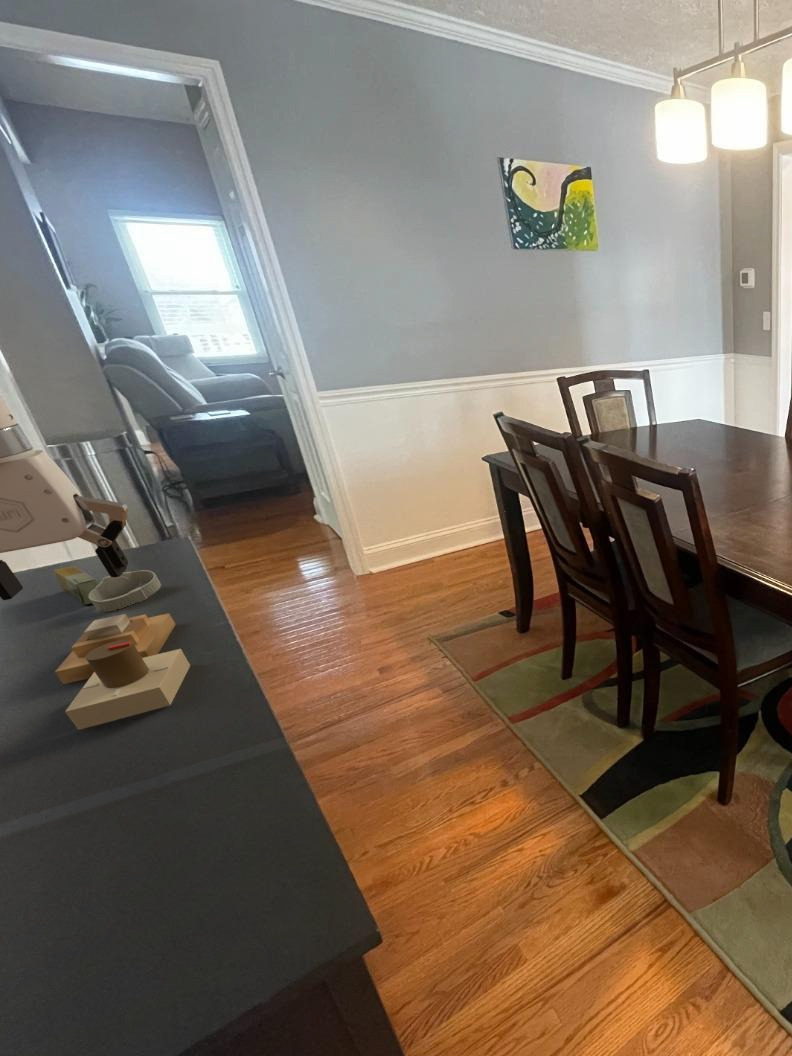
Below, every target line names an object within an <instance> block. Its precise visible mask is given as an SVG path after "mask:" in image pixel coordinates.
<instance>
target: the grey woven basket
mask: <svg viewBox="0 0 792 1056" xmlns="http://www.w3.org/2000/svg"><path fill="white" fill-rule="evenodd" d="M143 584H144V585H143ZM140 585H142V586H140ZM161 587H162V584H161V582H160V579H159V578H158V577H157V575H156V573H155V572H154V571H152V570H148V569H141V570H135V571H126V572H125V571H124V572H123V573H122V575H121V576H120V577H115V578H114V577H111V576H110V575H108V576H104V577H102V578H101V580H100V582H98V585H97V586H96V587H95V588H96V589H93V590H92V591H91V592H90V593H89V596H88V597H89V599H90V600H91V602H92V603H93V604H92V605H93V607H94V608H95V610H97V611H98V612H103V613H108V612H114V611H115V612H116V611H118V610H117V609H119V610H123V609H125V608H124V607H126V608H128V607H127V606H129V607H131V606H133V605H132V604H134V605H136V604H137V603H136V602H140V603H142V602H144V601H143V600H145V601H147V600H148V599H147V598H149V597H151V596H152V595H154V594H156V593H157V592H158V591H159V590H160V589H161ZM146 599H147V600H146ZM141 601H142V602H141ZM135 603H136V604H135ZM130 605H131V606H130ZM122 608H123V609H122Z"/></svg>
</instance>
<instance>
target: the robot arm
mask: <svg viewBox="0 0 792 1056" xmlns="http://www.w3.org/2000/svg"><path fill="white" fill-rule="evenodd" d="M128 506H129V505H127V504H126V503H123V502H118V501H111V500H106V499H105V500H104V499H100V498H95V497H87V496H82V494H81V493H80V491H79V490H78V489H77V487H76V486H75V484H73V482H72V481H71V480H70V478H69V477H68V476H67V474H66V473H65V472H64V471H63V470H62V469H61V468H60V466H59V465H57V464H56V462H55V461H54V460H53V459H52V458H51V457H50V456H49V455H48V454H47V453H46V452H45V451H44V450H42V449H38V450H36V449H35V448H34V447H33V445H32V443H31V442H30V440H29V439H28V437H27V435H26V434H25V432H24V430H23V428H22V427H21V425H20V424H19V423H18V421H17V419H16V417H15V416H14V414H13V413H12V412H11V410H10V408H9V406H8V405H7V402H5V400H4V398H3V396H2V395H1V394H0V554H3V553H9V552H14V551H19V550H25V549H31V548H36V547H41V546H42V547H43V546H47V545H53V544H57V543H63V542H67V541H72V540H75V539H76V538H79V539H82V540H83V541H86V542H88V543H91V544H93V545H96V546H97V548H96V549H95V550H94V552H95V555H97V557H98V559H99V560H100V562H101V564H102V565H103V566H104V568H105V570H106V572H107V573H108V576H111V577H114V578H115V577H120V576H121V575H122V573H125V571H127V568H128V565H129V560H128V558H127V557H126V554H124V551H123V550H122V548H121V547H120V545H119V543H118V542H117V539H118V538H119V536H120V535H121V533H122V531H123V530H124V528H125V527H126V525H127V522H126V521H127V516H128V509H129V507H128ZM93 512H94V513H95V512H96V513H101V514H105V515H108V520H109V521H108V524H107V525H106V526H104V525H101V524H99V523H96V518H95V515H94V513H93ZM23 589H24V587H23V585H22V583H21V582H20V580H19V579H18V578H17V576H16V574H15V573H14V572H13V571H12V569H11V568H10V567H9V564H8V563H7V562H6V561H3V559H0V599H1V600H2V601H8V600H11V599H13V598H14V597H15V596H16V595H17V594H19V593H20V592H21V591H22V590H23Z"/></svg>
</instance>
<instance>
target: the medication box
mask: <svg viewBox="0 0 792 1056" xmlns="http://www.w3.org/2000/svg"><path fill="white" fill-rule="evenodd" d="M53 572H54V575H55V577H56V579H57V580H56V581H58V584H59V586H60V589H61V590H62V591H64V592H65V593H66V594H68V595H69V596H71V597H72V598H73V599H75V600H76V601H78V602H79V603H81V604H82V605H83V606H89V605H93V603H92V602H91V600H90V599H89V597H88V596H89V593H90V592H91V591H92V590H93V589H96V588H95V587H96V586H97V585H98V584H99V582H98V580H97V579H96V578H94V577H93V576H91V575H89V574H87V573H86V572H84V571H82V570H81V569H79V568H78V567H76V566H74V565H70V566H65V567H59V568H55V569H53Z"/></svg>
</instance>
